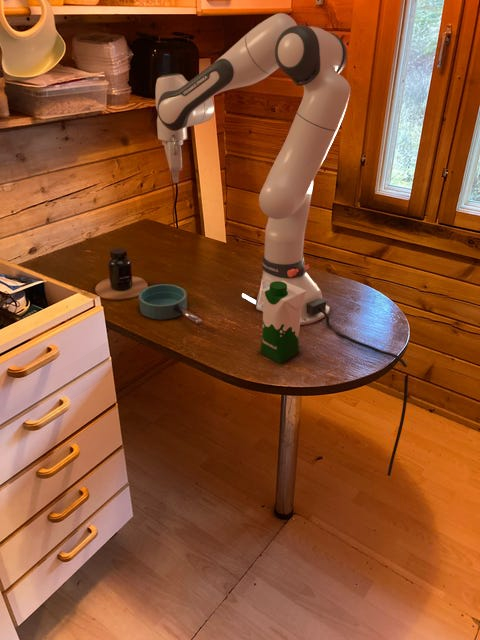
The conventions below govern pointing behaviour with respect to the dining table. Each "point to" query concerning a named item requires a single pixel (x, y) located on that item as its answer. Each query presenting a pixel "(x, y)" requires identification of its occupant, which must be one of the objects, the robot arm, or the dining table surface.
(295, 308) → the milk carton
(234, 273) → the dining table surface
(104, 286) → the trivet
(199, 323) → the pan handle
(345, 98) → the robot arm
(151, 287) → the pan
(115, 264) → the supplement bottle
